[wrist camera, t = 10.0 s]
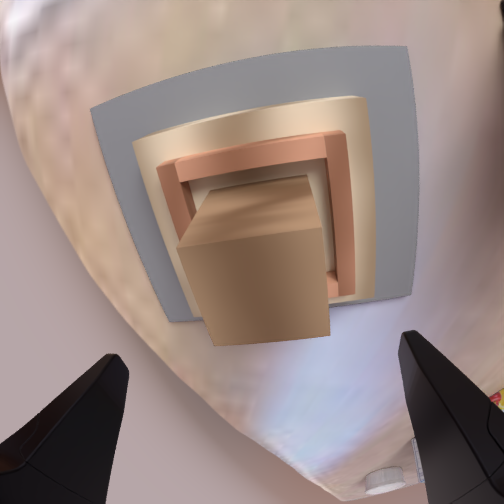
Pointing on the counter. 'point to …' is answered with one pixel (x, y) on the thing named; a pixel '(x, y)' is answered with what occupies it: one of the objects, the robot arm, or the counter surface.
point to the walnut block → (258, 263)
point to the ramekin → (384, 480)
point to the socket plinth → (274, 177)
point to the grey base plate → (264, 94)
